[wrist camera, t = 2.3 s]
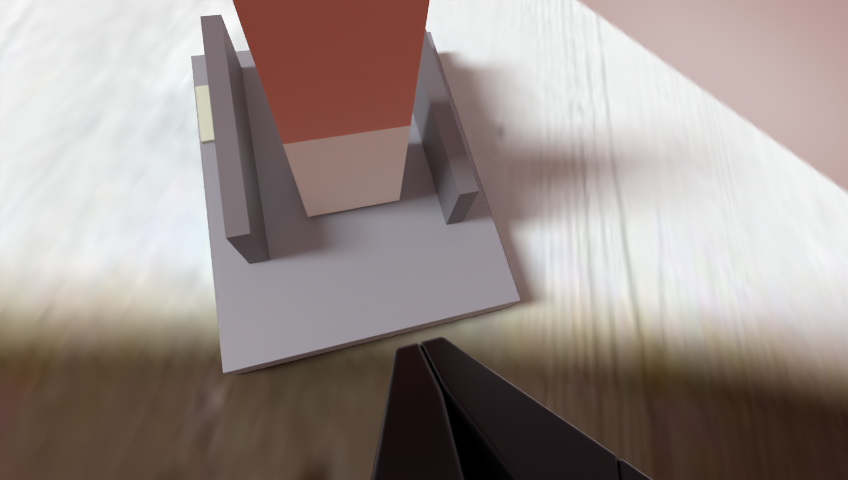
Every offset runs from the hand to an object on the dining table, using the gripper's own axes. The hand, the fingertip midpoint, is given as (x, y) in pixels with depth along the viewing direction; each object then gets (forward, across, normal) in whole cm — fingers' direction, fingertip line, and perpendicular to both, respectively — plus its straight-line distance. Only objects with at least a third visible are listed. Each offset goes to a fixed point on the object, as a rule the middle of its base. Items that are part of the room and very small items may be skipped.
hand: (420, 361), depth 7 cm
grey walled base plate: (+14, 0, +1) cm, 14 cm away
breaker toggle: (+13, 0, 0) cm, 13 cm away
